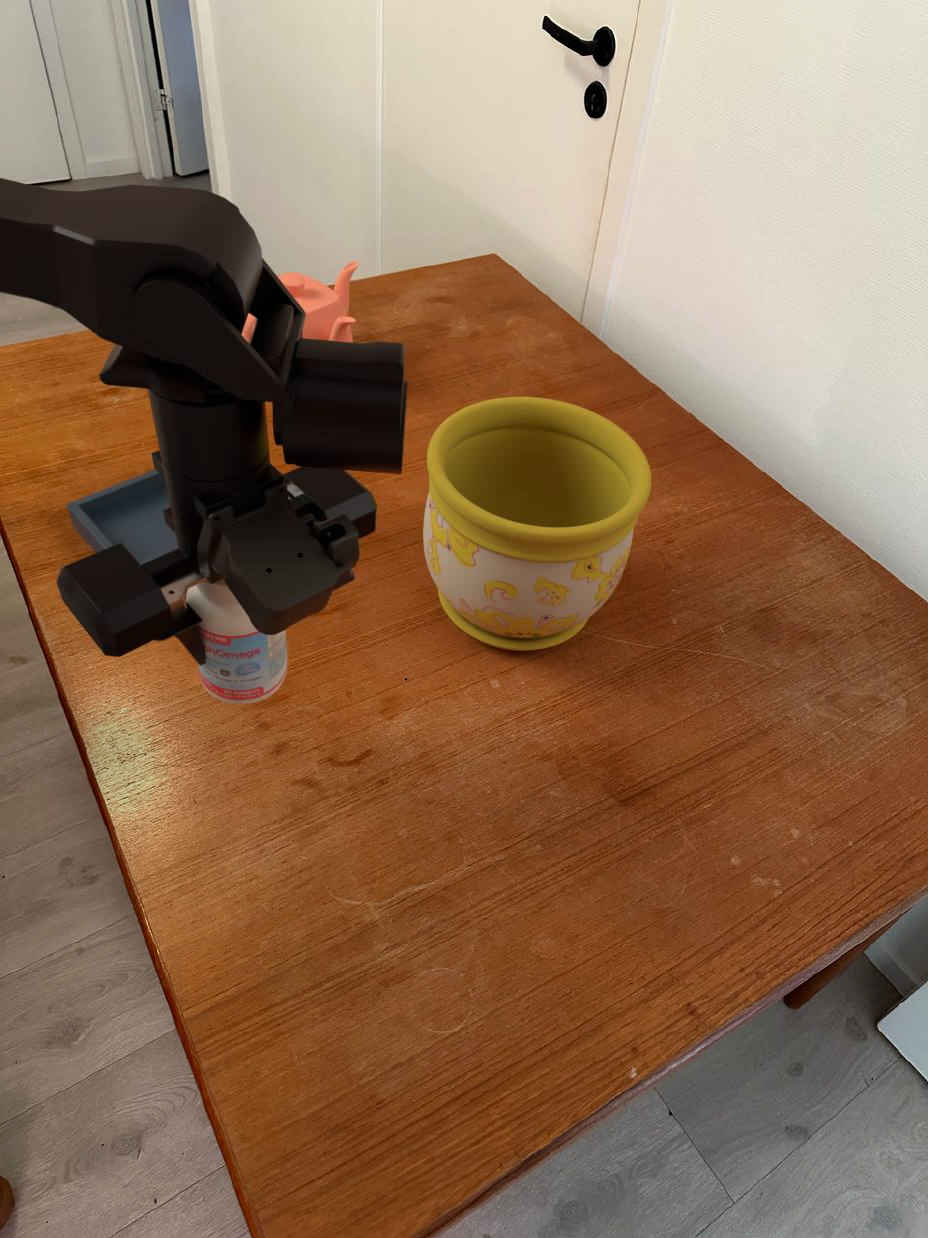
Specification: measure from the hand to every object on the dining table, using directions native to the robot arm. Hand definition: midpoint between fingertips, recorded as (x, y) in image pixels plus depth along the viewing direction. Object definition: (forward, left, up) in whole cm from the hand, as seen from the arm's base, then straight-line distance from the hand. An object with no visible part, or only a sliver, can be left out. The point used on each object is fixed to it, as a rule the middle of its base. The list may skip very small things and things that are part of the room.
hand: (241, 638), depth 58 cm
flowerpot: (+27, -1, -13) cm, 30 cm away
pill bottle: (0, 0, -4) cm, 4 cm away
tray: (+8, +26, -13) cm, 30 cm away
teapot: (+35, +43, -13) cm, 57 cm away
